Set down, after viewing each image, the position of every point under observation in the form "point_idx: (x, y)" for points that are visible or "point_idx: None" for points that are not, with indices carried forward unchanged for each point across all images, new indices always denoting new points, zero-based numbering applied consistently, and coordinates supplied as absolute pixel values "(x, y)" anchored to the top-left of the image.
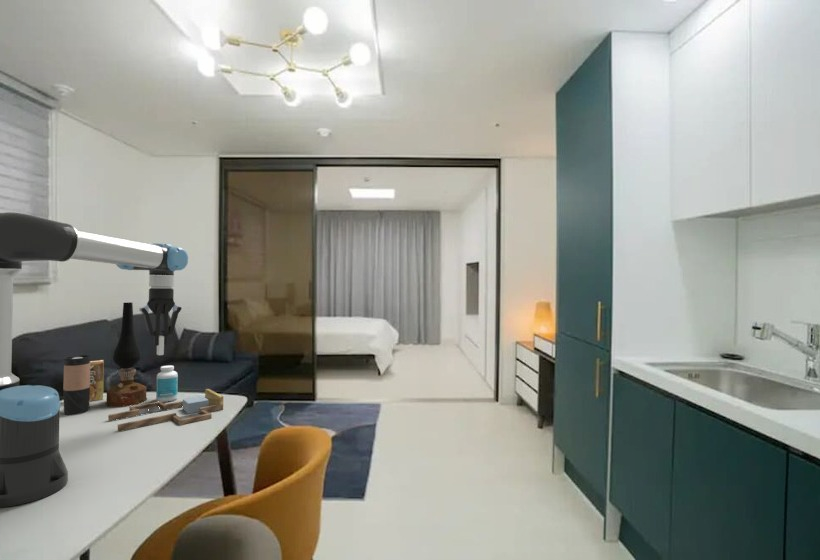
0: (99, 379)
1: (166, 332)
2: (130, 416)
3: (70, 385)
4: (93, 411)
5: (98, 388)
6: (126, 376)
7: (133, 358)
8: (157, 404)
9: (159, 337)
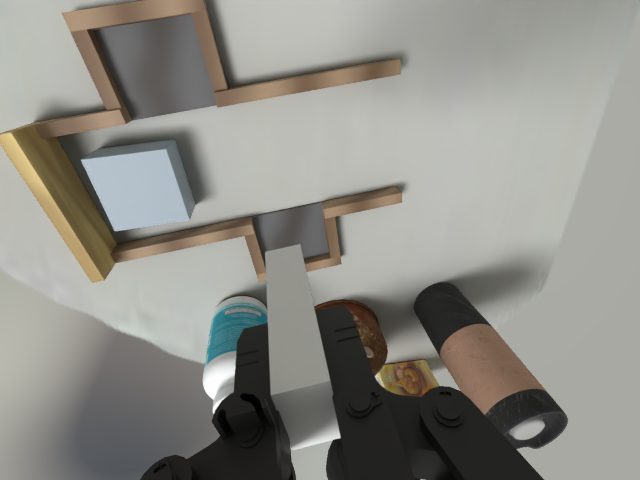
0: None
1: (238, 464)
2: (344, 198)
3: (497, 336)
4: (408, 289)
5: (395, 388)
6: None
7: None
8: None
9: (327, 371)
